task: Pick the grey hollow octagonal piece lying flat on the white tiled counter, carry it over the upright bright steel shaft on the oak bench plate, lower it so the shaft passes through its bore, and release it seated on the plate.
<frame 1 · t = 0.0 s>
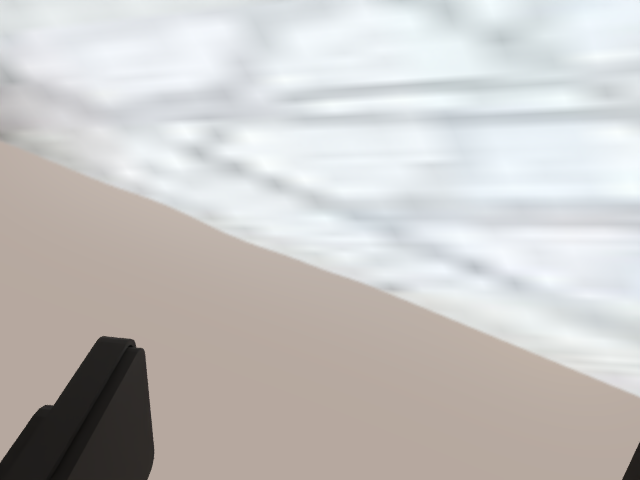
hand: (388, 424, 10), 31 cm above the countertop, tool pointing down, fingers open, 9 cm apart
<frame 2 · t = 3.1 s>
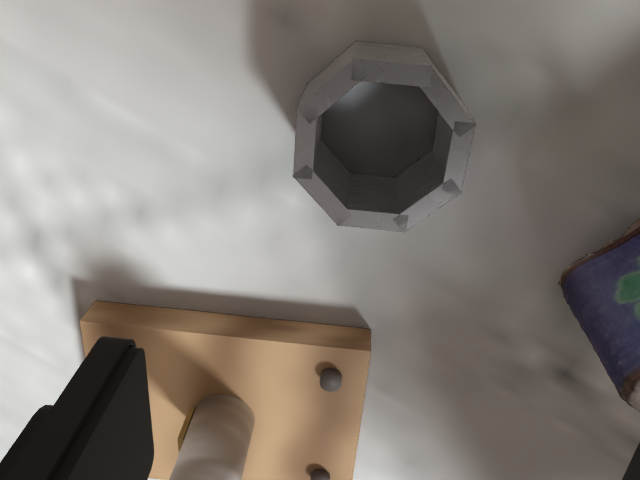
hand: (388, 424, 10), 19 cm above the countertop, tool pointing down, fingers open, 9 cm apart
grey hollow octagonal piece: (378, 121, 27), on the countertop
shaft block: (231, 393, 35), on the countertop
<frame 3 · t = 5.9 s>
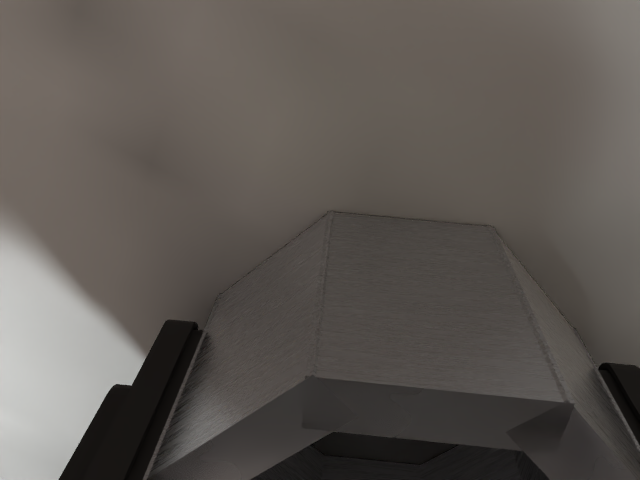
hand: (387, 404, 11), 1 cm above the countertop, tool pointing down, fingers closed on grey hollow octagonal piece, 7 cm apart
grey hollow octagonal piece: (386, 369, 12), on the countertop, touching gripper
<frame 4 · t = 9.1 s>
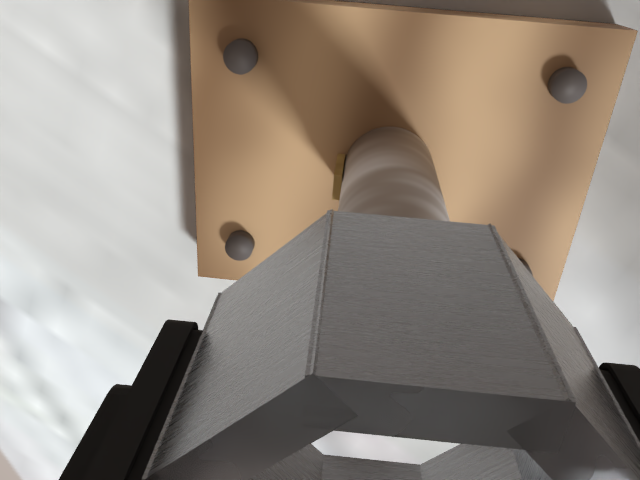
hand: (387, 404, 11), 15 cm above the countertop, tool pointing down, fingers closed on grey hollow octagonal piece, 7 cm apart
grey hollow octagonal piece: (386, 368, 12), point 15 cm above the countertop, touching gripper
shaft block: (387, 154, 25), on the countertop
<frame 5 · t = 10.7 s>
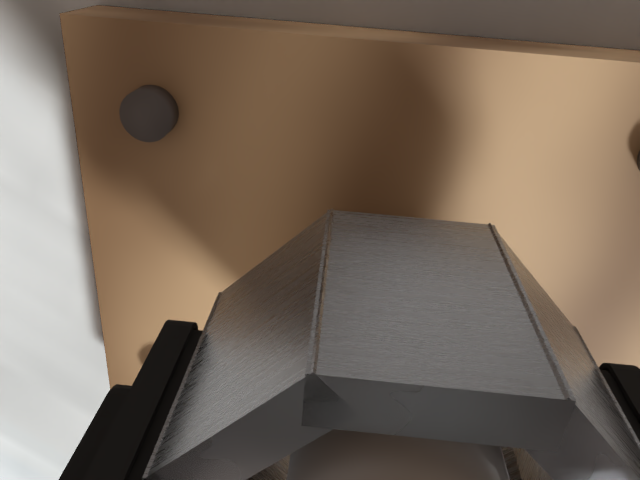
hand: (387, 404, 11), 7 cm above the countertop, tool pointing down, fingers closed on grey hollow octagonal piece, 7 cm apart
grey hollow octagonal piece: (386, 368, 12), point 6 cm above the countertop, touching gripper
shaft block: (382, 242, 17), on the countertop
when the fingers open (4 cm above the countertop, at t = 12.3 s): grey hollow octagonal piece drops 1 cm, resting on shaft block.
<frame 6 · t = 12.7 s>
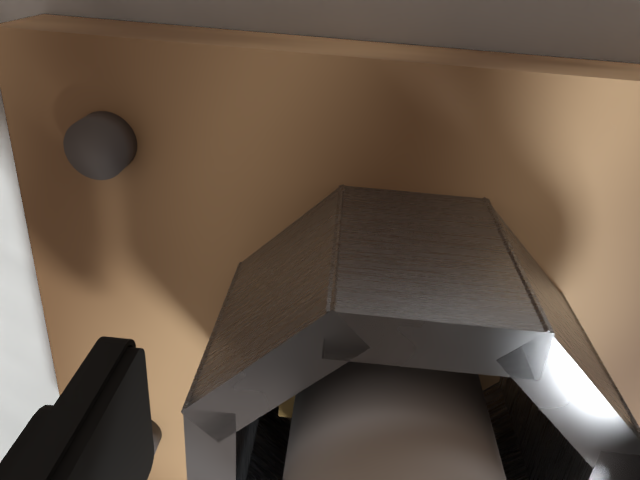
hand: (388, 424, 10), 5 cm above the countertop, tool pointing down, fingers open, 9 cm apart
grey hollow octagonal piece: (391, 332, 13), point 2 cm above the countertop, touching shaft block
shaft block: (381, 285, 15), on the countertop
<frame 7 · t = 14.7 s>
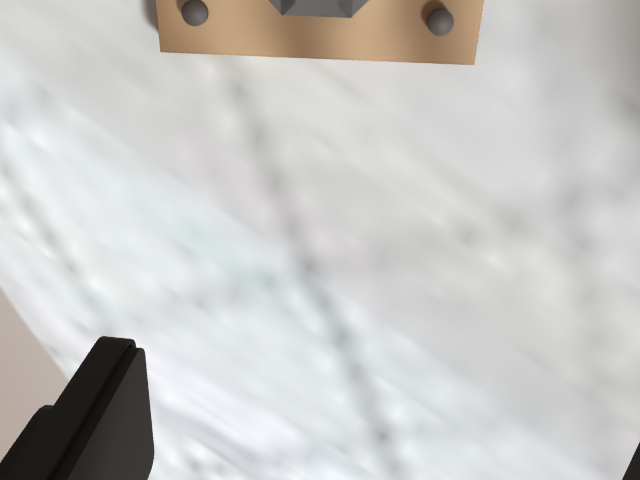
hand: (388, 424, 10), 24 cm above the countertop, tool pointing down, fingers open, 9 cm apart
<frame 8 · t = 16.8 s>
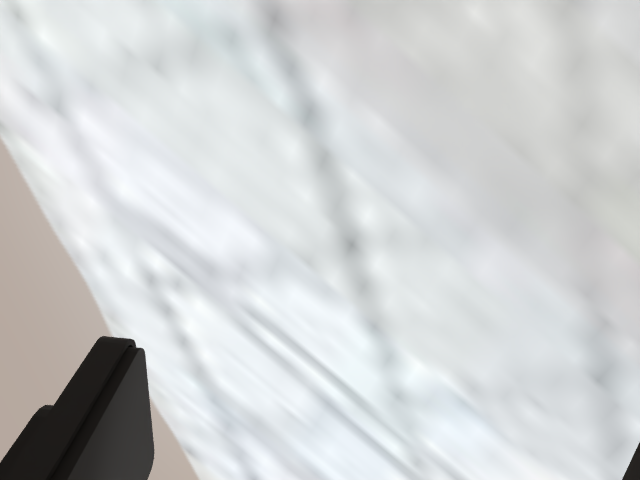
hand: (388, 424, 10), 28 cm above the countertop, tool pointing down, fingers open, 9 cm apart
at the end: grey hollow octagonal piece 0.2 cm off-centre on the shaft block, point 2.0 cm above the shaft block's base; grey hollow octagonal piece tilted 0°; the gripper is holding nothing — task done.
